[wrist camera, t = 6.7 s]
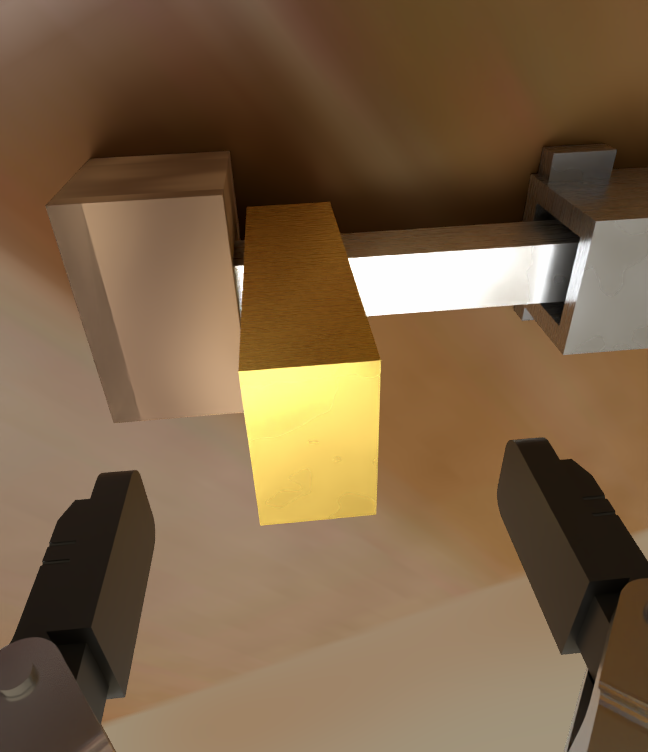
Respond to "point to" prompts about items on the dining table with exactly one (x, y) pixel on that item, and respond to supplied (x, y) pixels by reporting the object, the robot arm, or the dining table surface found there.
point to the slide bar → (355, 335)
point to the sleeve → (594, 249)
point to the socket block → (156, 280)
